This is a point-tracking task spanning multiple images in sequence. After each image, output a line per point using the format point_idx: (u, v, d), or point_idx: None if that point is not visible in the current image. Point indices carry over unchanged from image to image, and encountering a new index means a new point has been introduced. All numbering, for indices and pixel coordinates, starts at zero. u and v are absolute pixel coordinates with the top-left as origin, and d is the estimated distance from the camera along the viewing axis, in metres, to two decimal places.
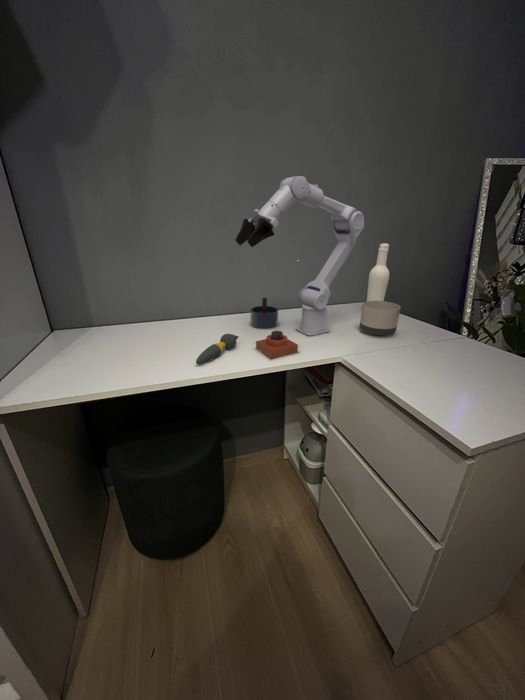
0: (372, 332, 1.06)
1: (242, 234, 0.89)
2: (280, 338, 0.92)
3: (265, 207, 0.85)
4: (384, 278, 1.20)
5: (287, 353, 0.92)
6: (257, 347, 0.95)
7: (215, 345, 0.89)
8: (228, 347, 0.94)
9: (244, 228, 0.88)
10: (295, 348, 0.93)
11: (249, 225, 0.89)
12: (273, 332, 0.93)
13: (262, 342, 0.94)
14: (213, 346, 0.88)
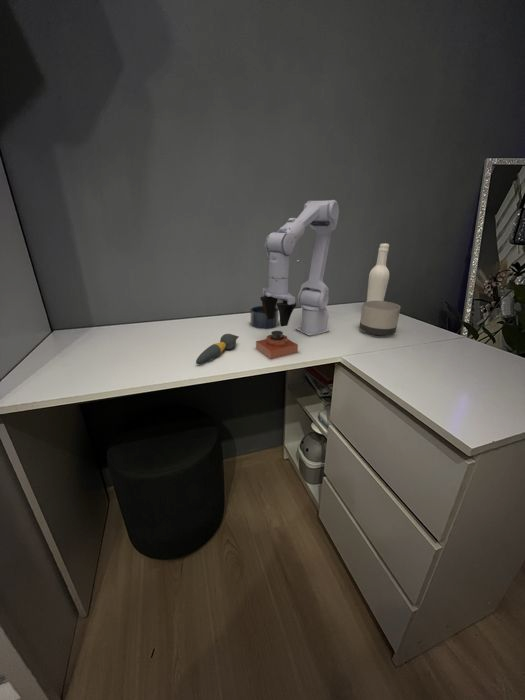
0: (372, 332, 1.06)
1: (269, 310, 0.93)
2: (280, 338, 0.92)
3: (272, 286, 0.85)
4: (384, 278, 1.20)
5: (287, 353, 0.92)
6: (257, 347, 0.95)
7: (215, 345, 0.89)
8: (228, 347, 0.94)
9: (267, 306, 0.92)
10: (295, 348, 0.93)
11: (268, 300, 0.91)
12: (273, 332, 0.93)
13: (262, 342, 0.94)
14: (213, 346, 0.88)
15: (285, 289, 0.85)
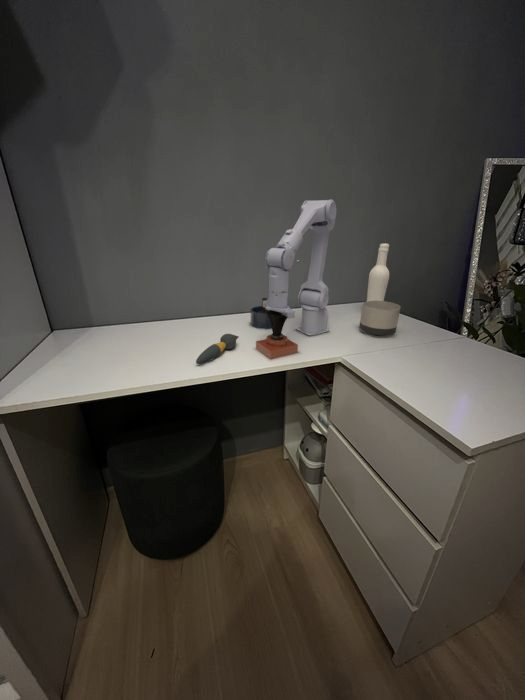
0: (372, 332, 1.06)
1: None
2: None
3: (272, 300, 0.86)
4: (384, 278, 1.20)
5: (287, 353, 0.92)
6: (257, 347, 0.95)
7: (215, 345, 0.89)
8: (228, 347, 0.94)
9: None
10: (295, 348, 0.93)
11: None
12: None
13: (262, 342, 0.94)
14: (213, 346, 0.88)
15: (285, 303, 0.87)
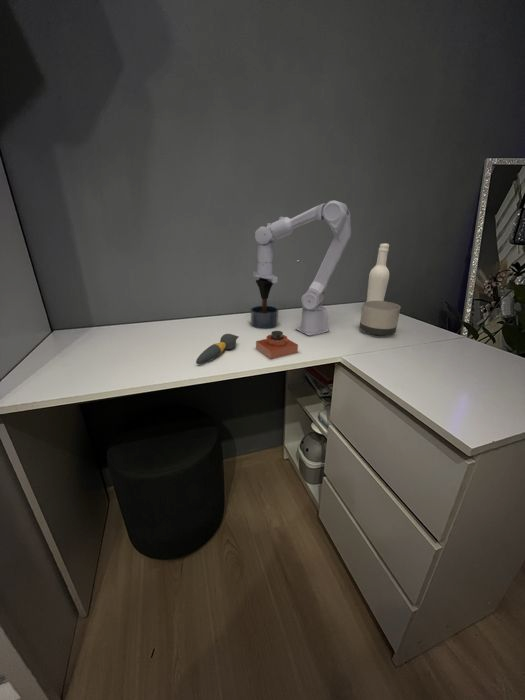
0: (372, 332, 1.06)
1: None
2: (280, 338, 0.92)
3: (260, 269, 1.08)
4: (384, 278, 1.20)
5: (287, 353, 0.92)
6: (257, 347, 0.95)
7: (215, 345, 0.89)
8: (228, 347, 0.94)
9: None
10: (295, 348, 0.93)
11: None
12: (273, 332, 0.93)
13: (262, 342, 0.94)
14: (213, 346, 0.88)
15: (270, 271, 1.09)
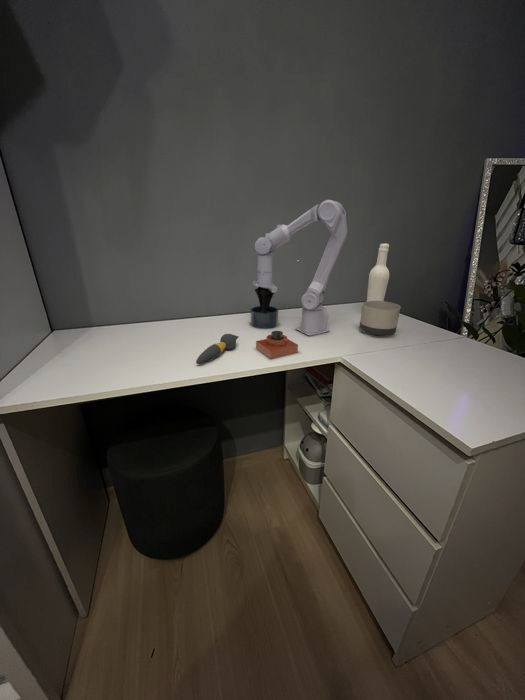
0: (372, 332, 1.06)
1: (262, 299, 1.16)
2: (280, 338, 0.92)
3: (259, 278, 1.10)
4: (384, 278, 1.20)
5: (287, 353, 0.92)
6: (257, 347, 0.95)
7: (215, 345, 0.89)
8: (228, 347, 0.94)
9: (260, 296, 1.15)
10: (295, 348, 0.93)
11: None
12: (273, 332, 0.93)
13: (262, 342, 0.94)
14: (213, 346, 0.88)
15: (270, 281, 1.10)
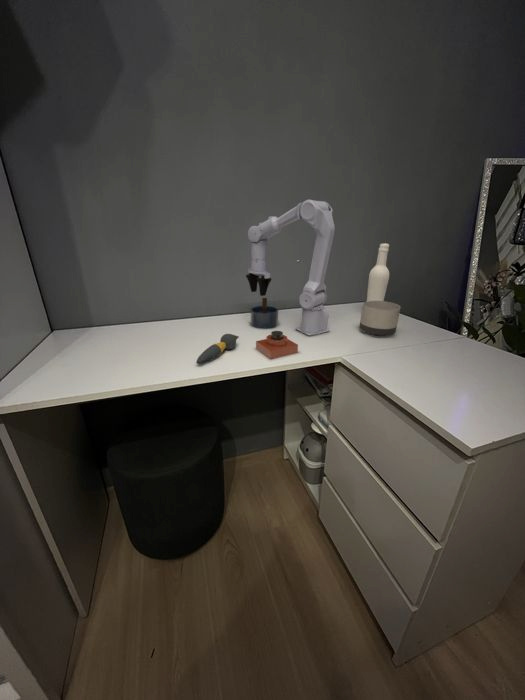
0: (372, 332, 1.06)
1: (252, 285, 1.24)
2: (280, 338, 0.92)
3: (253, 265, 1.16)
4: (384, 278, 1.20)
5: (287, 353, 0.92)
6: (257, 347, 0.95)
7: (215, 345, 0.89)
8: (228, 347, 0.94)
9: (250, 281, 1.23)
10: (295, 348, 0.93)
11: (252, 277, 1.22)
12: (273, 332, 0.93)
13: (262, 342, 0.94)
14: (213, 346, 0.88)
15: (263, 268, 1.16)
